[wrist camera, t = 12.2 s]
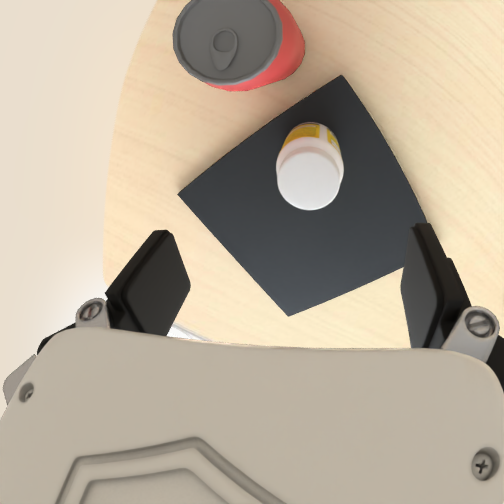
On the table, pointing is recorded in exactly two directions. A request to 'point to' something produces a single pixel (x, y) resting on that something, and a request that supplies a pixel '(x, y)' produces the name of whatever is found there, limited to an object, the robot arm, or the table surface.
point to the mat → (310, 221)
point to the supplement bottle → (309, 166)
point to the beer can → (238, 42)
